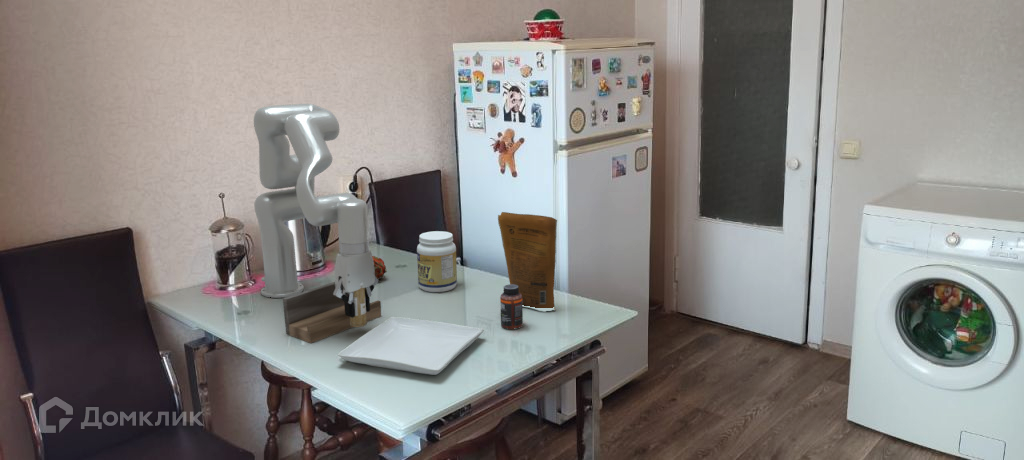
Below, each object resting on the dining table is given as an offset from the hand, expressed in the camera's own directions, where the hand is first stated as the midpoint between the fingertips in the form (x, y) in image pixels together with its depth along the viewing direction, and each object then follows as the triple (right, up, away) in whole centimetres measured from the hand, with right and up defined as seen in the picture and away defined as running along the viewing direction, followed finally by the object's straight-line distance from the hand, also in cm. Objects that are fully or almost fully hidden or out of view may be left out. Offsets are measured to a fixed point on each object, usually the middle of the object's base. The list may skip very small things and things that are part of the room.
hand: (357, 312), depth 193 cm
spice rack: (-7, -4, +7) cm, 11 cm away
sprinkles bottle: (0, -3, +1) cm, 4 cm away
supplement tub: (+17, +4, +37) cm, 41 cm away
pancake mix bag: (+46, -1, +19) cm, 50 cm away
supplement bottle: (+41, -4, +5) cm, 41 cm away
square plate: (+16, -9, -11) cm, 22 cm away
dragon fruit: (-5, +5, +46) cm, 47 cm away
